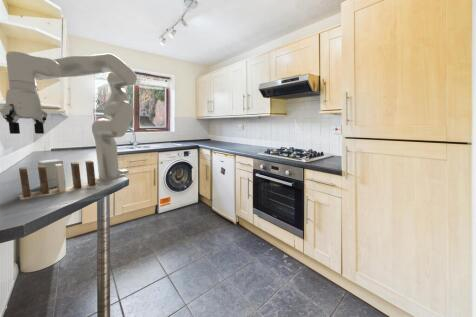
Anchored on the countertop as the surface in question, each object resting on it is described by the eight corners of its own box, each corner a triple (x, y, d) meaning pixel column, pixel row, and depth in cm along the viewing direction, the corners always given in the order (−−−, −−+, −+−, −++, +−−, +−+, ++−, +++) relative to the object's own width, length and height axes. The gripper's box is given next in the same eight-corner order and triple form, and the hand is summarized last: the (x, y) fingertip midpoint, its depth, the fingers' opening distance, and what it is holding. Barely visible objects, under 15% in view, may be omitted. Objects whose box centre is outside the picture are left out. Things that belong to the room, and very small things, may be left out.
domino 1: (47, 191, 94) (44, 165, 92) (49, 193, 90) (45, 166, 89) (41, 192, 93) (37, 166, 91) (42, 194, 89) (38, 167, 87)
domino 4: (92, 183, 106) (90, 160, 104) (95, 185, 102) (93, 161, 101) (87, 184, 104) (85, 161, 103) (90, 186, 101) (88, 162, 99)
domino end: (29, 193, 90) (25, 167, 88) (30, 196, 86) (26, 168, 85) (23, 195, 89) (18, 167, 87) (23, 197, 85) (19, 169, 83)
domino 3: (78, 185, 102) (76, 162, 100) (81, 188, 98) (78, 163, 97) (73, 186, 100) (70, 162, 99) (76, 188, 97) (73, 164, 95)
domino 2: (63, 188, 98) (60, 163, 96) (65, 190, 94) (62, 165, 93) (58, 189, 96) (54, 164, 95) (59, 191, 93) (56, 165, 91)
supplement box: (60, 184, 108) (57, 158, 106) (66, 186, 104) (63, 160, 102) (40, 188, 102) (37, 160, 100) (46, 190, 98) (42, 162, 96)
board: (94, 184, 108) (94, 182, 108) (99, 188, 102) (99, 185, 102) (19, 197, 89) (19, 194, 89) (20, 202, 83) (20, 199, 83)
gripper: (35, 92, 93) (39, 133, 94) (-13, 82, 75) (-7, 133, 77) (52, 92, 92) (56, 133, 94) (8, 82, 75) (14, 133, 77)
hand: (27, 133), depth 86 cm, fingers open, 9 cm apart
